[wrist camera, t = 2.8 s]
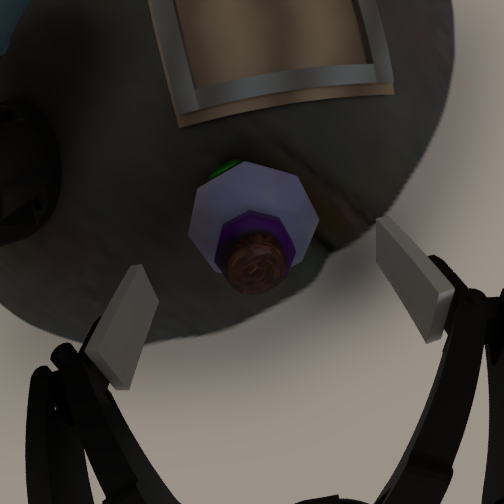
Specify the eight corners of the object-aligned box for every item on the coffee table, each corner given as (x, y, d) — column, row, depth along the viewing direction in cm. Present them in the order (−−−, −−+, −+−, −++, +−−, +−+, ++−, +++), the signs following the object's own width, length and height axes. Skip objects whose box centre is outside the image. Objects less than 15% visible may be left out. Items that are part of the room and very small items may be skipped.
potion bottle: (241, 122, 22) (238, 145, 11) (321, 185, 24) (373, 256, 14) (181, 202, 25) (140, 283, 15) (258, 254, 28) (266, 352, 17)
